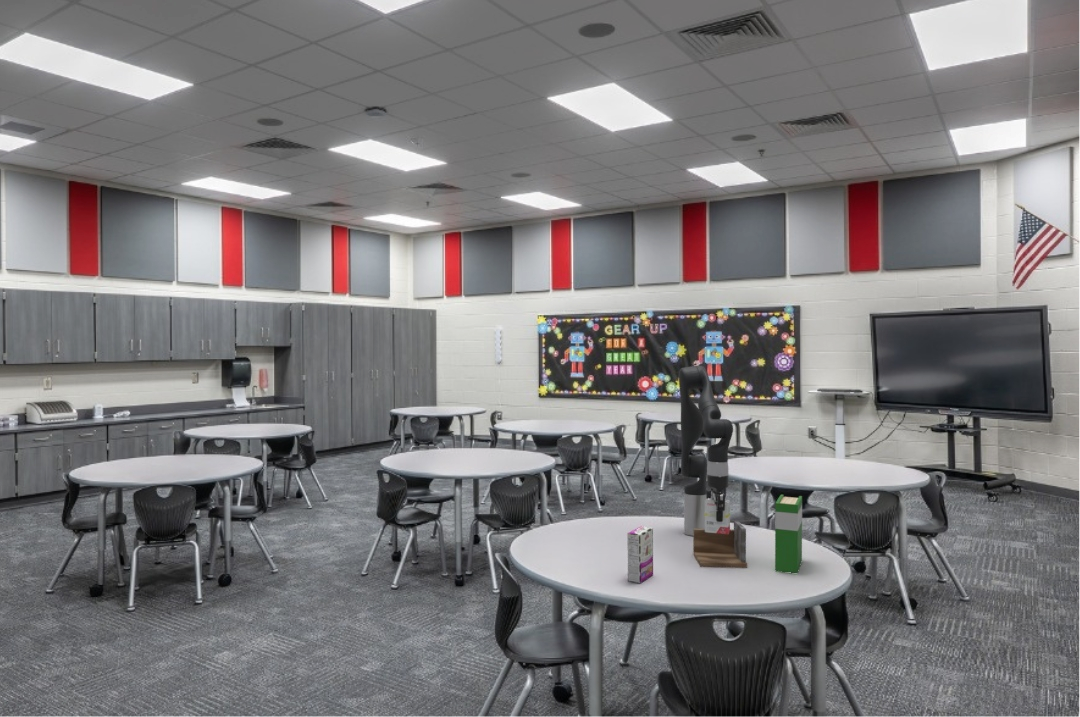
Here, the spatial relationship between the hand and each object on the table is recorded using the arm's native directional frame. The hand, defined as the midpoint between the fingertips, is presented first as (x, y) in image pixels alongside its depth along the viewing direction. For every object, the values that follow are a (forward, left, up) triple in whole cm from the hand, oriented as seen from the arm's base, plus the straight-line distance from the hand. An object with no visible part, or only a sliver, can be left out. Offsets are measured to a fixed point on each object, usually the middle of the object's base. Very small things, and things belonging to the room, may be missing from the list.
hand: (717, 519), depth 252 cm
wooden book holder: (-2, +1, -16) cm, 16 cm away
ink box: (0, 0, -5) cm, 5 cm away
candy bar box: (+20, -30, -16) cm, 40 cm away
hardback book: (+2, +25, -16) cm, 30 cm away
